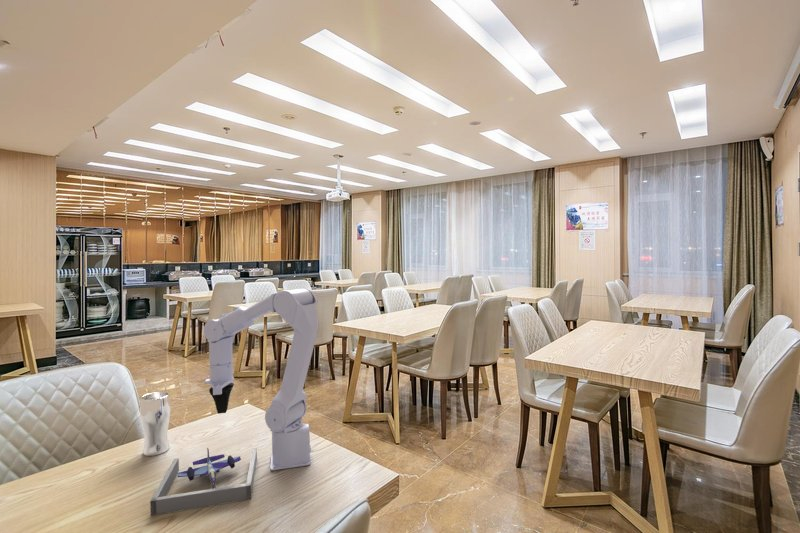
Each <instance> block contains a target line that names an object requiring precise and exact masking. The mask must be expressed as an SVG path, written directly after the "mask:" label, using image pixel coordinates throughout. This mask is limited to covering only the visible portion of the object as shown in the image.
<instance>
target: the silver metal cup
mask: <svg viewBox="0 0 800 533" xmlns="http://www.w3.org/2000/svg"><path fill="white" fill-rule="evenodd" d="M139 402H140V406H139V420H140V425H141V428H142V433H143V439H144V445H143V450H142V455H143V456H146V457H155V456H158V455H161V454H164V453H166V452H167V451H168V450H169V449H170V442H169V438H168V433H169V425H170V418H171V400H170V392H168V391H154V392H150V393H146V394H144V395H142V396H141V397H140V401H139Z"/></svg>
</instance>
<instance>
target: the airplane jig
mask: <svg viewBox="0 0 800 533" xmlns="http://www.w3.org/2000/svg"><path fill="white" fill-rule="evenodd" d="M257 449H258V448H257V447H253V448H252V451H251V456H250V462H249V466H248V472H247V477H246V481H245V482H246V483H240V484H234V485H229V486H222V487H216V488H214V489H213V488H209V489H208V488H207V489H203V490H201V489H200V490H195V491H189V492H185V493H184V492H183V493H176V494H170V495H168V492H169V491H170V489H171V486H172V485H173V483H174V480H175V479H176V477H177V473H179V472H180V468H179V467H180V463H179V462H180V460H179V458H174V459H173V460H172V461H171V463H170V465H169V467H168V469H167V471H166V473H164V476H163V478H162V480H161V481H160V484H158V487H157V489H156V490H155V492H154V494H153V496H152V498H151V499H150V516H156V515H157V516H158V515H163V514H169V513H175V512H182V511H187V510H194V509H199V508H200V509H201V508H203V507H204V508H205V507H211V506H217V505H224V504H230V503H236V502H242V501H248V500H252V495H253V488H254V481H255V474H256V468H257V461H258V450H257Z"/></svg>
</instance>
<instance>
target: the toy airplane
mask: <svg viewBox="0 0 800 533" xmlns="http://www.w3.org/2000/svg"><path fill="white" fill-rule="evenodd" d="M206 450H207V454H206V455H207V457H204V458H201V459H198V460H195V461H192V466H196V465H197V466H198V465H203V466H199V467H195V468H193V467H192V466H189V467H188V468H187V470H183V471H178V473H177V475H176V477H177V478H185V477H187V479H188V480H189V481H190V482H192V481H193V480H194V479H195V477H197V476H200V477H202V476H208V477H207V478H208V479H209V480H210V482H211V483H212V484H211V486H210V489H214V488H217V487H216V479H217V472H218V473H219V472H220V470H223V469H224V468H226V467H230V469H234V468H235V467H236V465H235V464H236V463H237V462H239V461H241V460H242V458H241V456H235V457H233V456H232V455H228V456H227V459H226V458H225V457H226V456H225V454H224V453H223V454H217V455H212V456H210V452H209V450H210V449H209V447H207V448H206ZM224 458H225V459H224ZM221 459H224V460H221ZM218 460H219V461H218Z"/></svg>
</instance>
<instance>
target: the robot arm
mask: <svg viewBox="0 0 800 533" xmlns="http://www.w3.org/2000/svg"><path fill="white" fill-rule="evenodd" d="M318 302H319V301H318V299H317V297H316V295H315V293H314V292H313V291H312V290H311V289H310V288H308V287H300V288H295V289H289V290H284V289H283V290H280V291H278V292H275V293H272V294H270V295H269V296H267V297H265V298H264V299H261V300H260V301H258V302H256V303H254V304H253V305H251V306H250V307H246V306H240V305H239V306H234V307H233V308H232V311H230V312H228V313H223V314H221V315H220V317H219V318H217V319H209V320H208V321H206V322H205V323H204V327H203V335H204V338H205V339H206V340H207V341H208V349H209V350H208V352H209V354H208V355H209V356H208V358H209V359H208V360H209V378H207V379H205V381H204V383H205V384H209V385H210V388H209V390H208V393H209V394H210V395H211V397H212V399H213V401H214V405H215V409H216V412H217V414H226V413H227V411H228V408H229V407H228V406H229V401H230V395H231V393H232V392H231V391H232V389H233V387H234V385H235V384H234V383H233V382H234V380H235V377H234V362H233V361H234V358H233V356H234V355H233V344H234V342H235V341H234V339H235V336H236V334H238V333H239V332H242V331H244V330H246V329H248V328H250V327H252V326H253V325H254V322H255V319H257V318H260V317H262V316H264V315H267V314H269V313H276V314H277V315H278V316H279V317H280V318H282V320H283V321H285V323H286V324H288V325H289V326H290V327H291V328H292V329H293V331H294V333H293V336H292V341H291V345H290V349H289V353H288V357H287V361H286V365H285V369H284V373H283V377H282V382H281V386H280V389H279V391H278V392H277V393H276V395H275V396H274V397H273V398H272V400H271V404H270V406H269V408H267V410H266V411H265V414H264V420H265V425H266V426H267V428H269V430H270V431H269V432H271V451H272V452H271V453H272V454H270V466H269V469H270V470H269V471H270V472H271V471H277V470H285V469H293V468H299V467H304V466H310V465H311V453H312V448H311V445H312V444H310V442H311V441H310V439H311V438H310V434H311V433H310V425H309V424H310V423H303V417H304V416H305V415H306V412H307V409H308V408H307V397H308V396H307V393H306V392H305V391H304V387H305V383H306V380H307V375H308V372H309V367H310V364H311V360H312V356H313V352H314V351H313V350H314V348H315V343H316V340H317V335H318V332H319V326H320V324H319V317H318V312H317V307H318Z"/></svg>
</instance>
